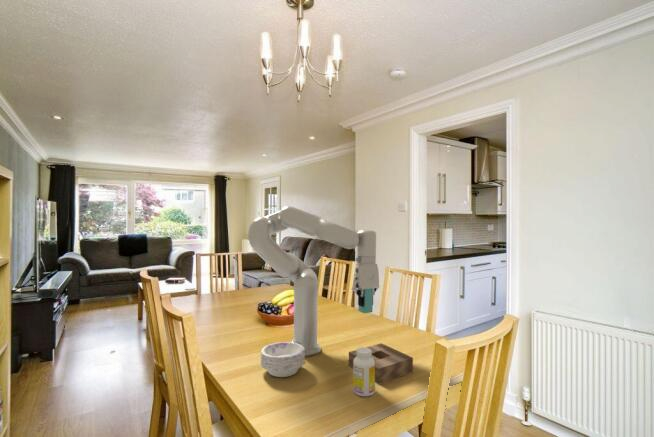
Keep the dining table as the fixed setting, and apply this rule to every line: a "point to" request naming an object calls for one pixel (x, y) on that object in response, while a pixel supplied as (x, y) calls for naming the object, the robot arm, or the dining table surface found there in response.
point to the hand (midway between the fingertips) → (365, 304)
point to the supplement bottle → (364, 372)
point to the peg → (367, 301)
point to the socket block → (387, 362)
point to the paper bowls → (282, 358)
